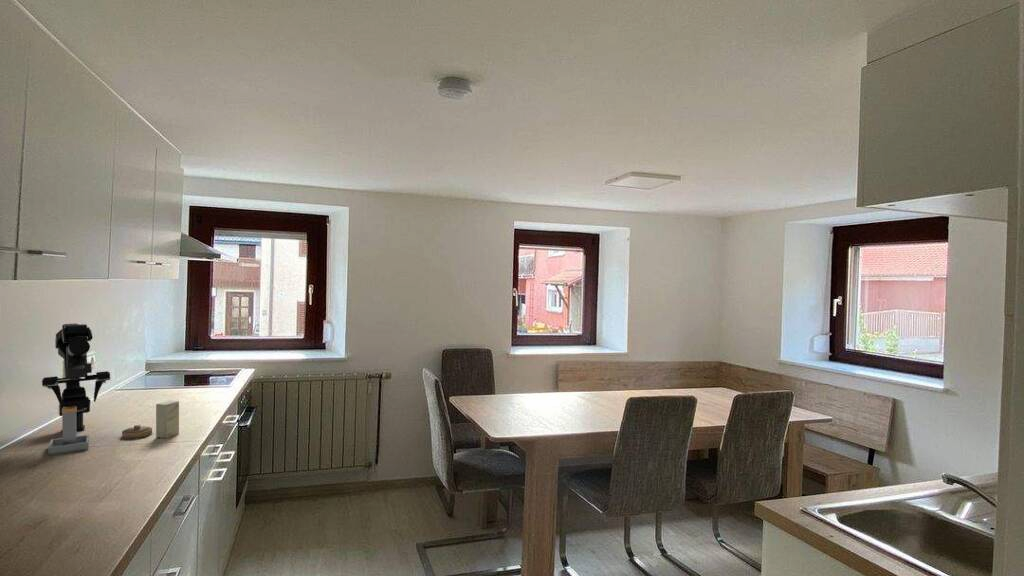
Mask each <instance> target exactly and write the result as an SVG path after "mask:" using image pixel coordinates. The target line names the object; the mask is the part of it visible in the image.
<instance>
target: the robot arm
mask: <svg viewBox="0 0 1024 576" xmlns="http://www.w3.org/2000/svg"><path fill="white" fill-rule="evenodd" d="M92 340H93V333H92V330H91V328H90V327H88V324H87V323H86V324H85V323H84V324H79V323H64V324H62V326H61V329H60V330H59V331H58V332H57V333H55V341H54V343H55V349H57V354H58V356H59V357H61V358H62V359H63V369H64V377H58V376H57V375H56V376H48V377H43V378H42V380H41V386H42V387H43V388H47V389H48V390H52V391H53V393H54V395H55V397H56V398H57V401H58V416H59V417H62V407H71V406H77V411H76V432H80V431H85V430H86V429H85V427H86V425H85V424H84V414H85V413H86V414H87V413H89V412H91V399H90V397H89V396H88V395H87V393H86V388H85V387H84V386H81V384H80V382H87V381H95V385H94V393H93V402H94V403H95V402H96V400H97V398H98V395H99V391H100V390H101V388H102V386H103V384H107V381H111V372H110V371H108V370H107V371H99V372H98V371H96V372H95V374H91V373H93V368H92V363H91V362H90V363H88V355H87V354H88V352H90V348H91V345H90V343H89V342H91V341H92ZM88 374H89V375H88ZM59 384H65V388H63V390H62V393H61V387H60V386H59Z"/></svg>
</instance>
